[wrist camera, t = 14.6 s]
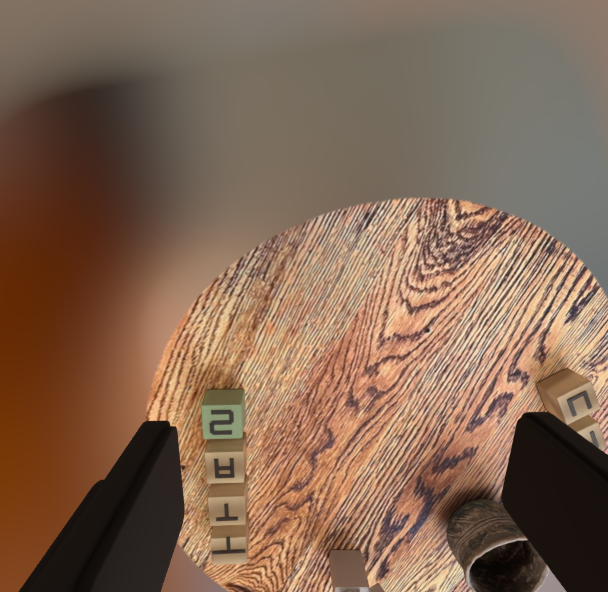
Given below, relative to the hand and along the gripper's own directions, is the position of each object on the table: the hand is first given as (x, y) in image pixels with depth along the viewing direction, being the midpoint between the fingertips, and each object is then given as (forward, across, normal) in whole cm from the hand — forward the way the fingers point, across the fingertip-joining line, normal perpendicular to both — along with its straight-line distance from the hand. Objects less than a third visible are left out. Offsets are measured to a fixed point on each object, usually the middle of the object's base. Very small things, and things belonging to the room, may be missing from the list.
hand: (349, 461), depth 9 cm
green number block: (+24, +8, +14) cm, 29 cm away
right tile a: (+24, +8, +20) cm, 32 cm away
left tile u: (+24, -30, +13) cm, 41 cm away
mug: (+24, -24, +32) cm, 47 cm away
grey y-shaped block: (+24, -8, +37) cm, 45 cm away
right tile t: (+24, +8, +26) cm, 36 cm away
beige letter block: (+24, +8, +31) cm, 41 cm away
